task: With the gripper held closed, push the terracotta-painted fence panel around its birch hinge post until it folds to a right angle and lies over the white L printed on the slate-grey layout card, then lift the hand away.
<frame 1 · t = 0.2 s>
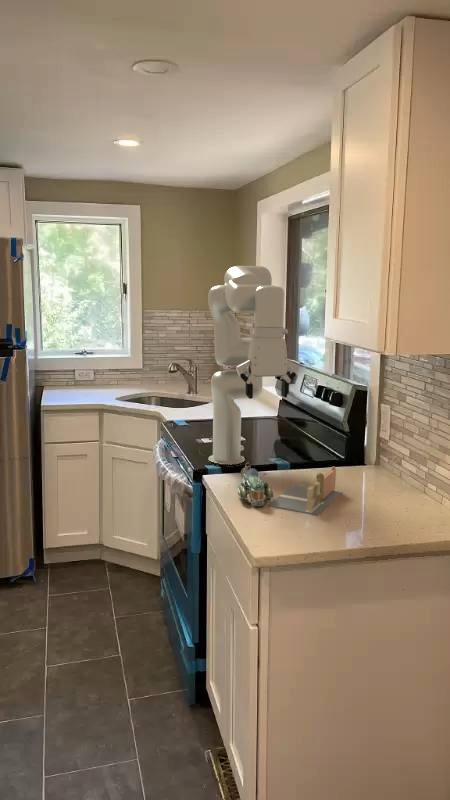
hand: (267, 397, 173), 31 cm above the worktop, tool pointing down, fingers open, 9 cm apart
fence post: (319, 503, 182), resting on layout card
hoverbike: (251, 494, 189), on the worktop
layout card: (305, 499, 185), on the worktop
fold panel: (327, 482, 187), point 4 cm above the worktop, hinge at 0.0°
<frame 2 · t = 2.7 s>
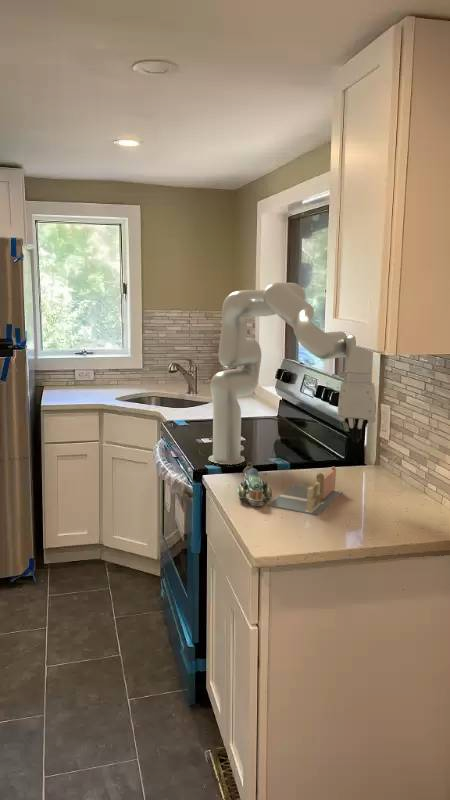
hand: (355, 441, 184), 17 cm above the worktop, tool pointing down, fingers closed
nothing on the worktop moved.
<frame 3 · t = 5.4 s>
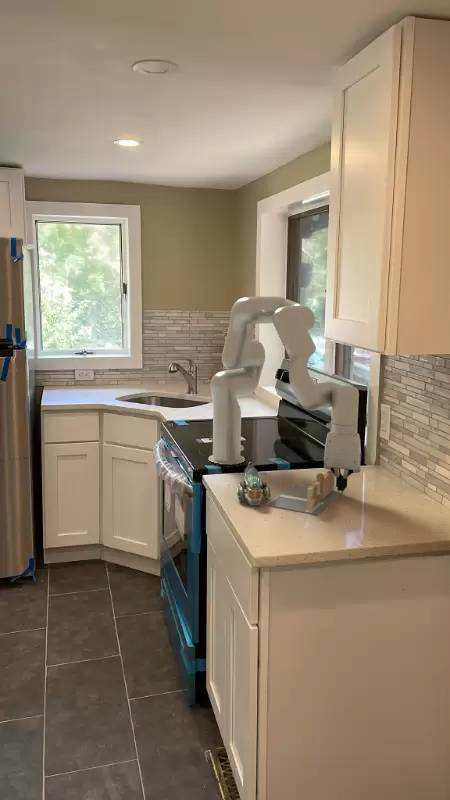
hand: (341, 489, 188), 2 cm above the worktop, tool pointing down, fingers closed
fold panel: (327, 482, 187), point 4 cm above the worktop, hinge at 1.4°, touching gripper
everything else where it was.
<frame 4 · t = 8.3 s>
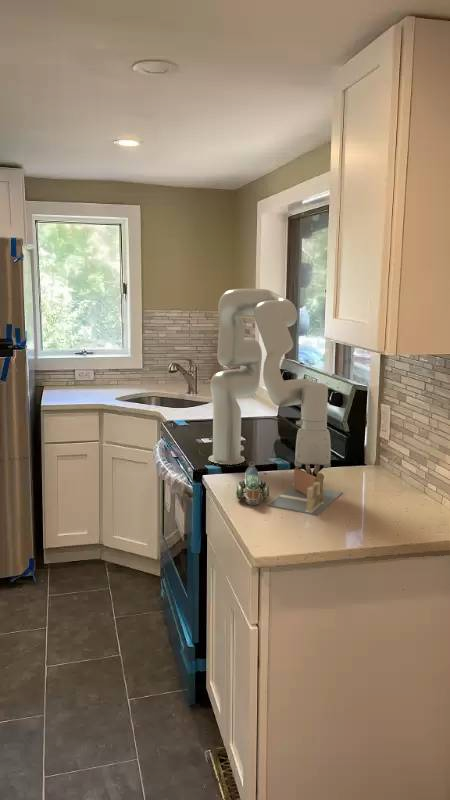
hand: (311, 485, 191), 2 cm above the worktop, tool pointing down, fingers closed
fold panel: (305, 482, 187), point 4 cm above the worktop, hinge at 53.5°, touching gripper
everything else where it was.
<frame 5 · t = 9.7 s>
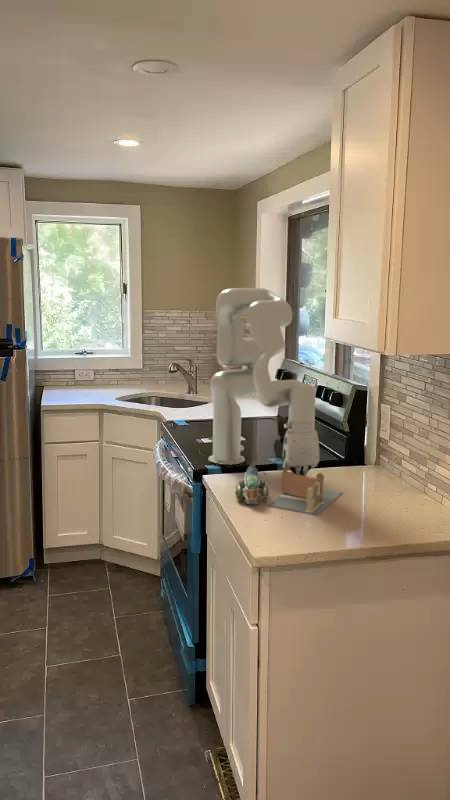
hand: (299, 487, 189), 2 cm above the worktop, tool pointing down, fingers closed
fold panel: (298, 483, 185), point 4 cm above the worktop, hinge at 78.2°, touching gripper
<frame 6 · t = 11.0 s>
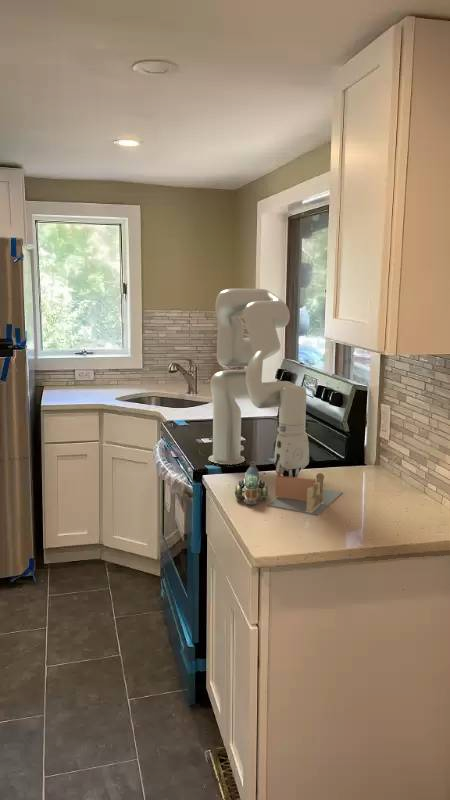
hand: (290, 490, 187), 2 cm above the worktop, tool pointing down, fingers closed
fold panel: (294, 486, 183), point 4 cm above the worktop, hinge at 100.4°, touching gripper
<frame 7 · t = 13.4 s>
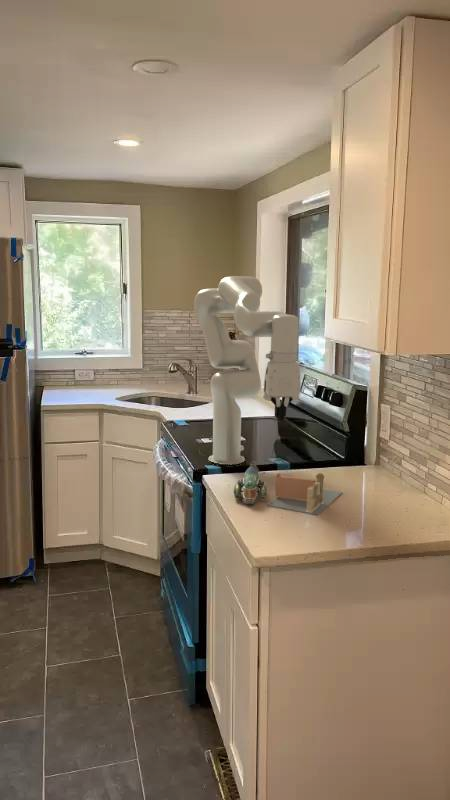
hand: (279, 418, 190), 22 cm above the worktop, tool pointing down, fingers closed
fold panel: (294, 486, 183), point 4 cm above the worktop, hinge at 100.6°
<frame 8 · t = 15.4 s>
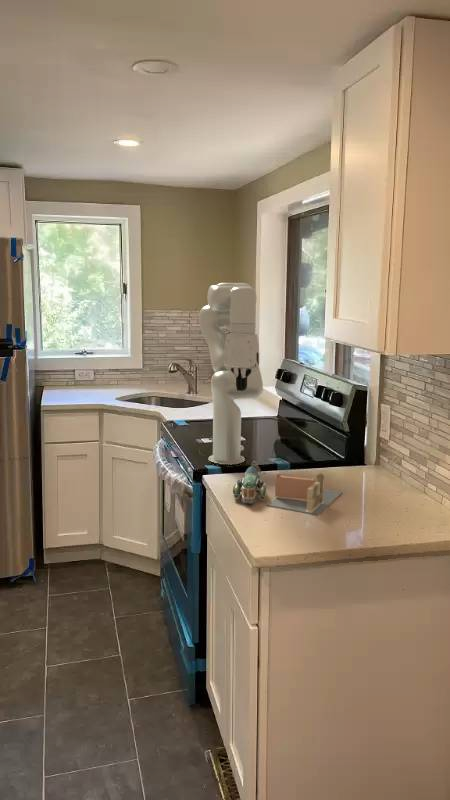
hand: (241, 390, 194), 29 cm above the worktop, tool pointing down, fingers closed
at the end: fold panel at +101° (first picture: +0°) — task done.
